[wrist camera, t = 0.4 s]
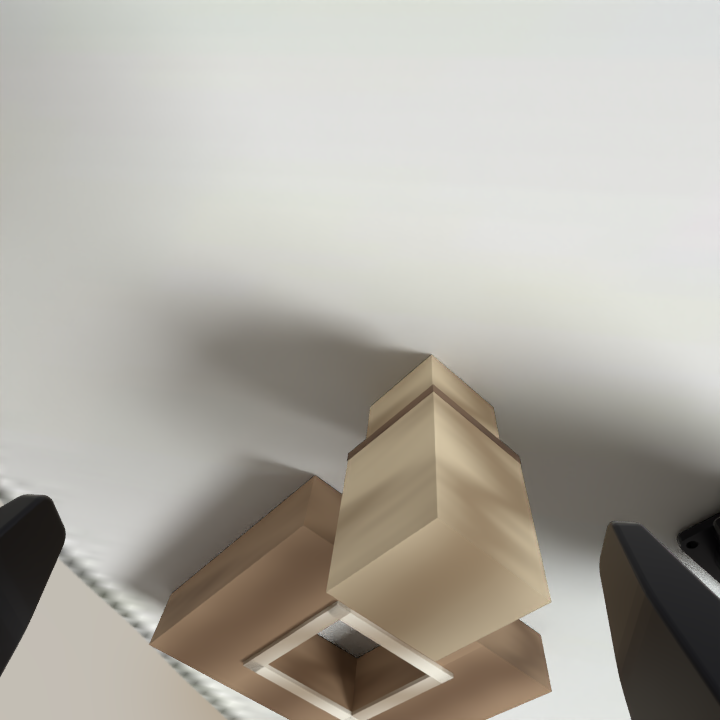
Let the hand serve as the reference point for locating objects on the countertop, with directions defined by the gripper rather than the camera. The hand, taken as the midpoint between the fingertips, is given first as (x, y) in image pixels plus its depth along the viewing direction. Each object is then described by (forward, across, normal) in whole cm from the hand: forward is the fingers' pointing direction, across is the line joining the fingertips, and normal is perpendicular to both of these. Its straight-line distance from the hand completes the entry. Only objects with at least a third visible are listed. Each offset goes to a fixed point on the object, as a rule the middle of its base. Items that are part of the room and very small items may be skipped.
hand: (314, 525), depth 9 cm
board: (+13, +2, +21) cm, 25 cm away
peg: (+13, -2, +7) cm, 15 cm away
